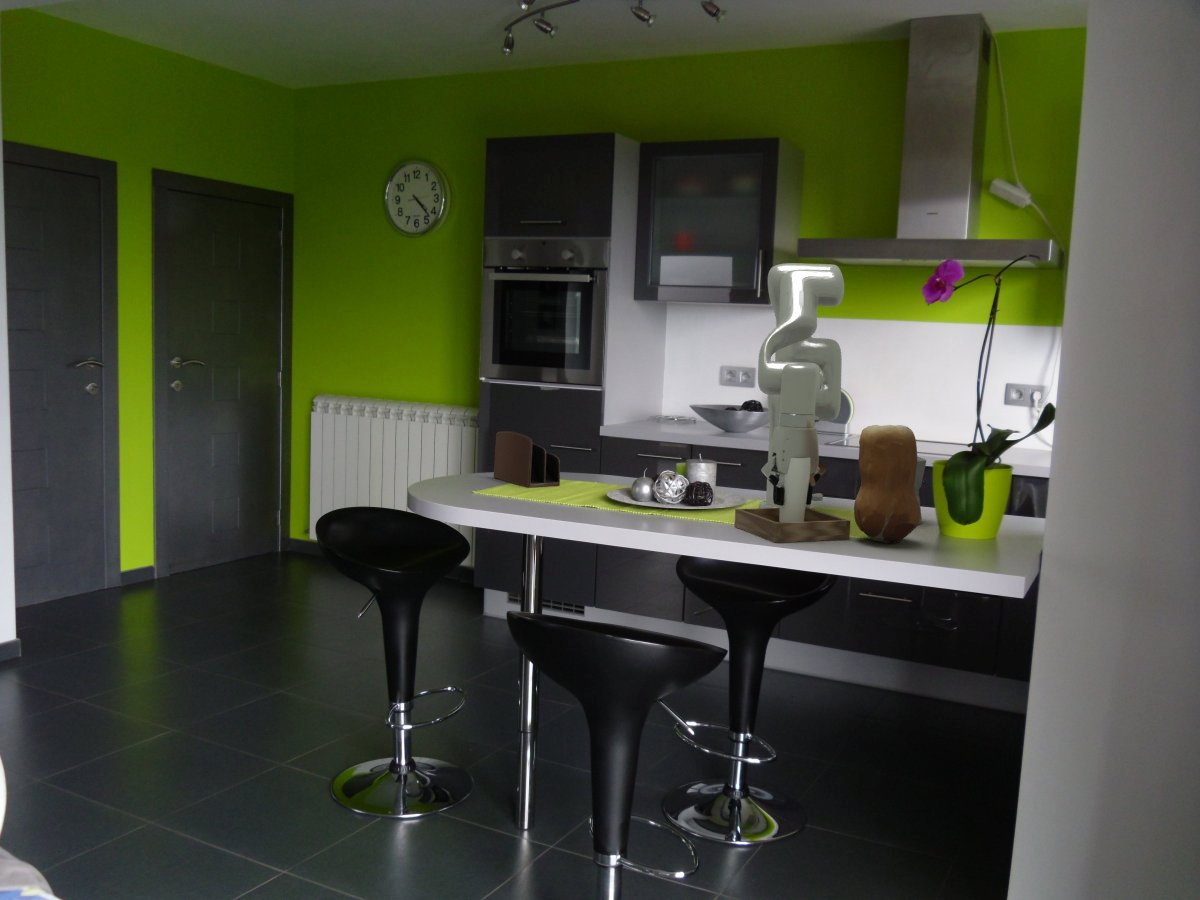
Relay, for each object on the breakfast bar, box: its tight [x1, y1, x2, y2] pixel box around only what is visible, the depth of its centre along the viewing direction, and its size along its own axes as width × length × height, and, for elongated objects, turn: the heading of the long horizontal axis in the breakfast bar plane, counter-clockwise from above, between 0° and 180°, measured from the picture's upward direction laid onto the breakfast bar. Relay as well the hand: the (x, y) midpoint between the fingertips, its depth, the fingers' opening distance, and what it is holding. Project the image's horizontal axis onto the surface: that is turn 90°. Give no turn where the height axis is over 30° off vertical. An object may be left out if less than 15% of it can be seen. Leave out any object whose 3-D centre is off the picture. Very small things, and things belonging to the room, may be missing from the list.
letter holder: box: [493, 430, 561, 489], centre depth 298 cm, size 10×20×14 cm, turn 34°
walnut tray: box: [734, 507, 852, 544], centre depth 236 cm, size 18×18×4 cm
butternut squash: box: [853, 424, 922, 545], centre depth 228 cm, size 14×13×25 cm
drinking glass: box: [779, 458, 810, 523], centre depth 235 cm, size 7×7×15 cm
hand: (792, 503), depth 236 cm, fingers closed on drinking glass, 6 cm apart
